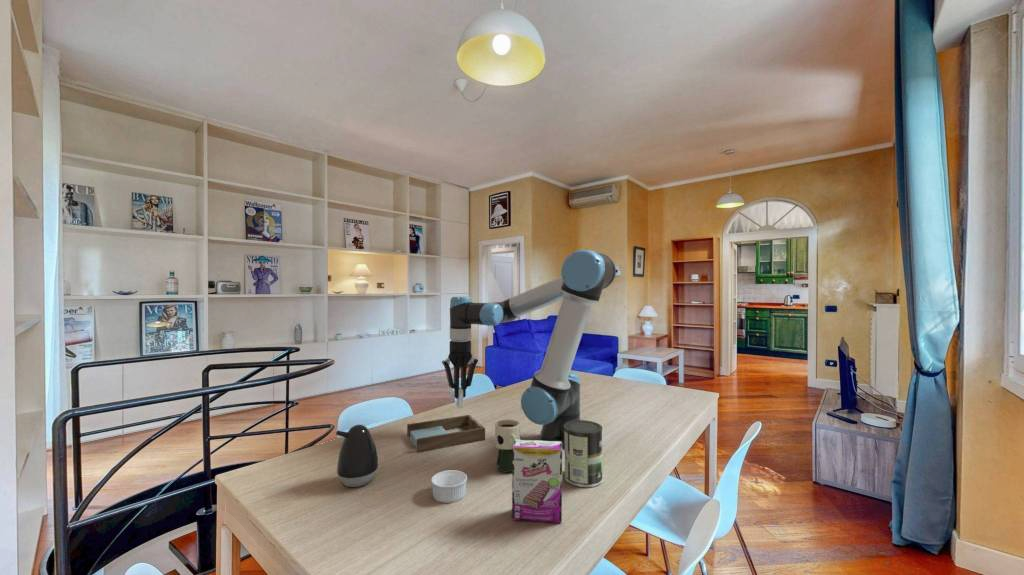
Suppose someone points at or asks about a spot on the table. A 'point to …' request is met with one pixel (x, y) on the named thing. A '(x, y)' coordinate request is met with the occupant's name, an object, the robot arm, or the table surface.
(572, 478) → the coffee can
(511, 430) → the character mug
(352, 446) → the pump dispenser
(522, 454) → the candy bar box
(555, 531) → the table surface
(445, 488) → the ramekin
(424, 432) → the cover plate
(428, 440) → the walnut box
